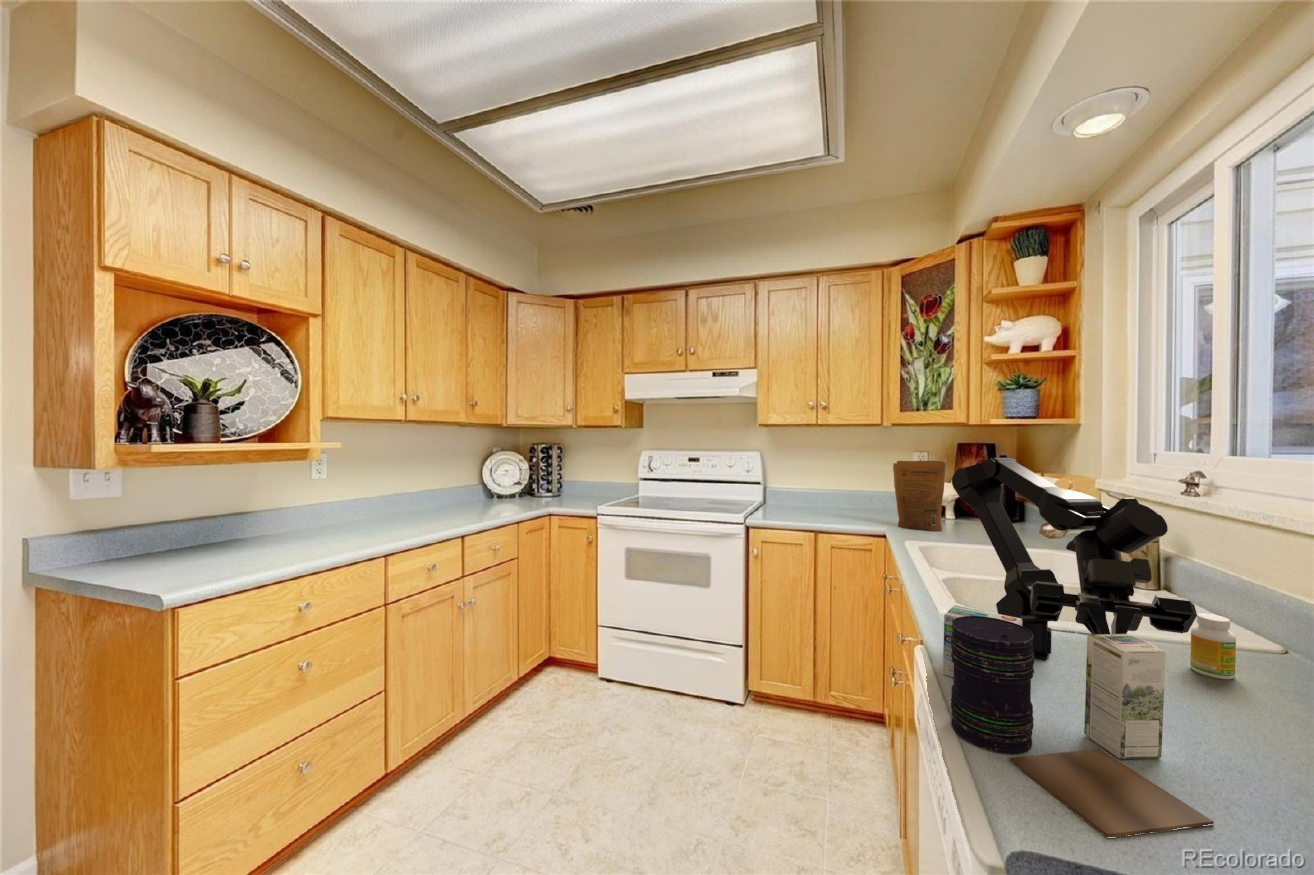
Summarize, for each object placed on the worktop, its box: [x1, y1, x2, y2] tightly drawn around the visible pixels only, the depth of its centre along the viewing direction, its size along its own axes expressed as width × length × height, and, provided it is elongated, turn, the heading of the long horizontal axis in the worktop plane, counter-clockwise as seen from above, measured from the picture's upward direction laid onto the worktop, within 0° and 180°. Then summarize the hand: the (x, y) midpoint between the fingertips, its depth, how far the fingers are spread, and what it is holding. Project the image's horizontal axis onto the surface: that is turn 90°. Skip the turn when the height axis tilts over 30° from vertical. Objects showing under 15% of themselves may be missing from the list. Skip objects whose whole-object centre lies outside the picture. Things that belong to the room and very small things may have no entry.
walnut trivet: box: [1009, 748, 1214, 839], centre depth 63 cm, size 13×13×1 cm
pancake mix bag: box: [892, 460, 947, 532], centre depth 216 cm, size 7×19×28 cm, turn 55°
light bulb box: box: [942, 604, 1022, 678], centre depth 91 cm, size 11×7×11 cm, turn 47°
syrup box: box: [1083, 633, 1167, 760], centre depth 72 cm, size 6×6×14 cm
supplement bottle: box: [1189, 612, 1237, 680], centre depth 93 cm, size 5×5×10 cm
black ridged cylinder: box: [950, 616, 1035, 756], centre depth 75 cm, size 10×10×15 cm
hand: (1115, 660), depth 76 cm, fingers closed
